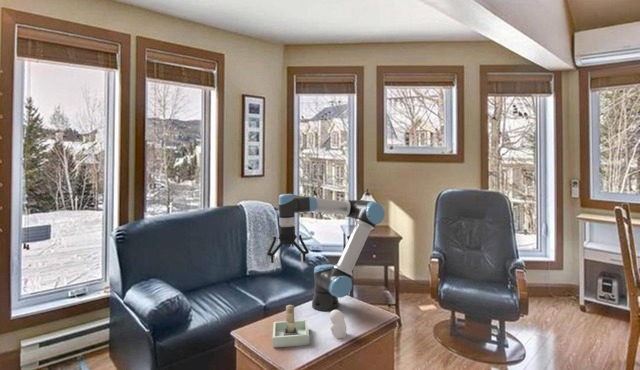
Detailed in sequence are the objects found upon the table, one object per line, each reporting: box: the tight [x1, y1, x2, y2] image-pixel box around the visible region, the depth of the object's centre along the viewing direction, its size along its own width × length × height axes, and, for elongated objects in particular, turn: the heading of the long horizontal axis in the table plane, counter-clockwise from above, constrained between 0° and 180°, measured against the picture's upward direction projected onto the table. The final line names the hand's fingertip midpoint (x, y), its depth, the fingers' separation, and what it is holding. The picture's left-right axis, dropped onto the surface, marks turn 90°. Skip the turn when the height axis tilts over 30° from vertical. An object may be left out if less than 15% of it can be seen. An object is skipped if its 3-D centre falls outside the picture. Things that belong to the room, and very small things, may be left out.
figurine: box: [329, 309, 347, 339], centre depth 169 cm, size 7×8×12 cm
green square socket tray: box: [272, 319, 310, 349], centre depth 168 cm, size 16×16×4 cm
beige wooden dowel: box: [285, 304, 295, 333], centre depth 168 cm, size 4×4×14 cm
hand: (288, 268), depth 180 cm, fingers open, 13 cm apart
